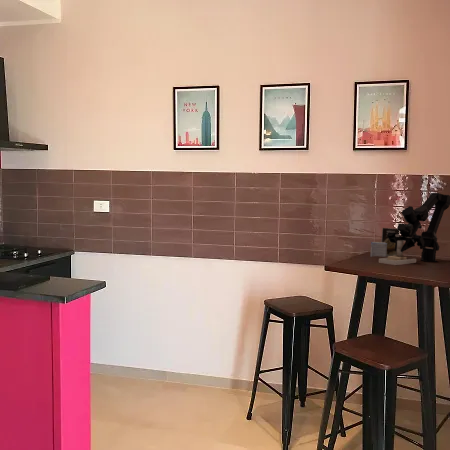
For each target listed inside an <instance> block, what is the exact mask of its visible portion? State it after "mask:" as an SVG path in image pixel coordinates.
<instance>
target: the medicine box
mask: <svg viewBox="0 0 450 450" xmlns="http://www.w3.org/2000/svg"><path fill="white" fill-rule="evenodd" d="M386 251H387V243H384V242H381V241H370V253H369V254H370V256H369V257H370V258H372V257H382V258H387V256H386Z"/></svg>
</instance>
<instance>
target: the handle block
mask: <svg viewBox="0 0 450 450" xmlns="http://www.w3.org/2000/svg"><path fill="white" fill-rule="evenodd" d="M404 243H405V241H400V240H398V241H397V254H396V255H395V256H388V257H387V258H388V260H393V261H398V260H406V259H407V258H408V256H403V255H404V251H403V252H401V249H402V247H403V245H404Z"/></svg>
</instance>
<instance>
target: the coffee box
mask: <svg viewBox="0 0 450 450" xmlns="http://www.w3.org/2000/svg"><path fill="white" fill-rule="evenodd" d="M381 229H382V230H381V239H380V242H384V243H387V251H386V258H388V256H395V255H396V254H397V251H395V244H396V243H391V242H390V240H389V239H388V237H387V234H388V233H389V232H393V233H396V234H397V235H400V233H399V232H400V231H399V230H397V228H390V227H382V228H381Z"/></svg>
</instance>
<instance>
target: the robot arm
mask: <svg viewBox="0 0 450 450" xmlns="http://www.w3.org/2000/svg"><path fill="white" fill-rule="evenodd" d="M449 207H450V194H442V193H440V192H431V193H430V194H429V197H427V199H426V200H425V201H424V202H423V203H422V204H421V205H420V206H418V207H416V208H414V207H413V206H411V205H409V206H408V207H405V208H404V209H402V211H401V214H402V217H403V219H404V221H405V222H406V223H407V224H406V223H401V222H400V223H398V224H397V228H396V229H397V230H399V235H397V234H396V233H393V232H389V233H388V234H387V237H388V239H389V240H390V242H391V243H396V244H395V251H397V241H398V240H400V241H404V243H403V247H402V249H401V252H403V253H404V252H405V251H406V250H407V251H408V250H409V249H411V248H413V247H415V246H418V247H419V249H420V250H422V251H421V255H420V256H421V257H420V261H423V262H429V263H430V262H431V263H433V262H435V263H436V262H438V260H436V259H437V258H436V257H437V255H436V254H437V252H438V251H439V250H440V245H439V242H438V237H437V232H438V229H439V226H440V223H441V221H442V217H443V215H444V213H445V211H446V210H447V209H448V208H449ZM433 208H434V210H433V213H432V214H431V218H430V221H429V224H428V226H427V229H426V231H422V232H421V235H419V234H417V232H418V230H420V229H422V223H421V222H426V221H427V219H428V218H429V216H430V214H429V213H430V212H431V210H432V209H433Z"/></svg>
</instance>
